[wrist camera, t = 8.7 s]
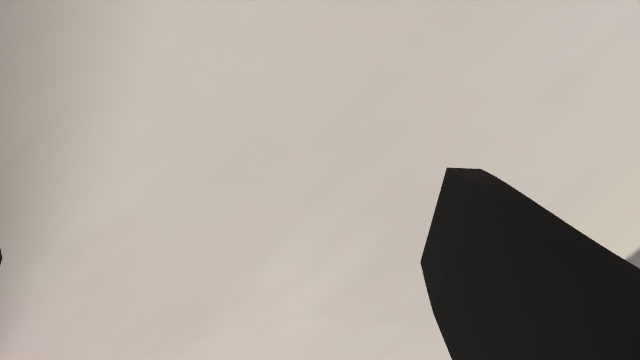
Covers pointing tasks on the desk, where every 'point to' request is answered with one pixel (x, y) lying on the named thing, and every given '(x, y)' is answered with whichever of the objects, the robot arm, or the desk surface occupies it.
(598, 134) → the desk surface
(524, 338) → the robot arm
